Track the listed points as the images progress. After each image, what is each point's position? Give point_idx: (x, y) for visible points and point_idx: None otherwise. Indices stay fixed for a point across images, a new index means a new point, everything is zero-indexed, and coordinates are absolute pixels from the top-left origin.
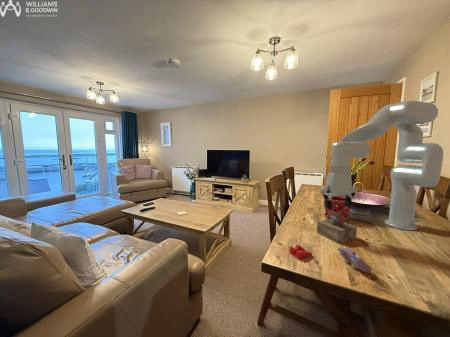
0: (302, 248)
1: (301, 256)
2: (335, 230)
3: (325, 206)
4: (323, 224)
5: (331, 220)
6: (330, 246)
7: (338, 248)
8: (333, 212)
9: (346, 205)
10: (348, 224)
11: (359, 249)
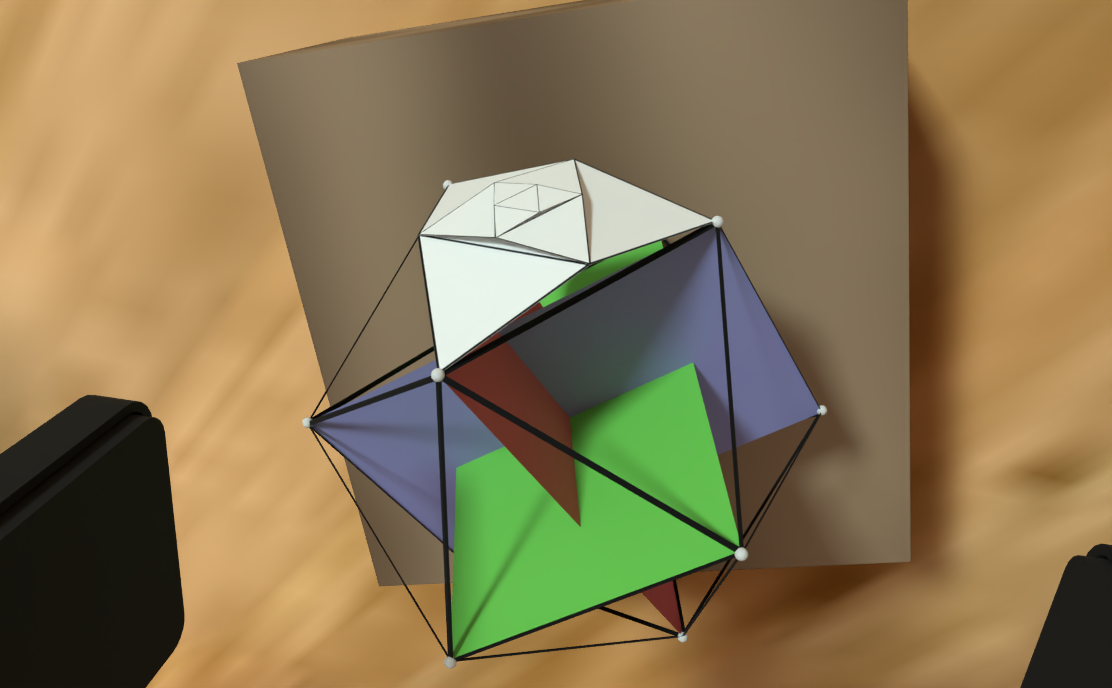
0: None
1: None
2: (369, 515)
3: (84, 405)
4: (290, 250)
5: (671, 91)
6: (278, 485)
7: None
8: (493, 392)
9: (1052, 682)
10: (872, 414)
11: (607, 638)
